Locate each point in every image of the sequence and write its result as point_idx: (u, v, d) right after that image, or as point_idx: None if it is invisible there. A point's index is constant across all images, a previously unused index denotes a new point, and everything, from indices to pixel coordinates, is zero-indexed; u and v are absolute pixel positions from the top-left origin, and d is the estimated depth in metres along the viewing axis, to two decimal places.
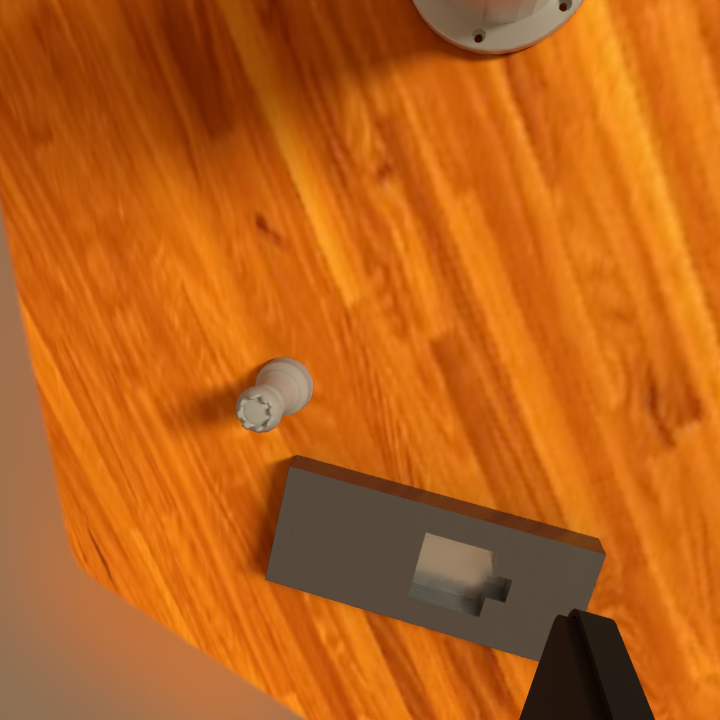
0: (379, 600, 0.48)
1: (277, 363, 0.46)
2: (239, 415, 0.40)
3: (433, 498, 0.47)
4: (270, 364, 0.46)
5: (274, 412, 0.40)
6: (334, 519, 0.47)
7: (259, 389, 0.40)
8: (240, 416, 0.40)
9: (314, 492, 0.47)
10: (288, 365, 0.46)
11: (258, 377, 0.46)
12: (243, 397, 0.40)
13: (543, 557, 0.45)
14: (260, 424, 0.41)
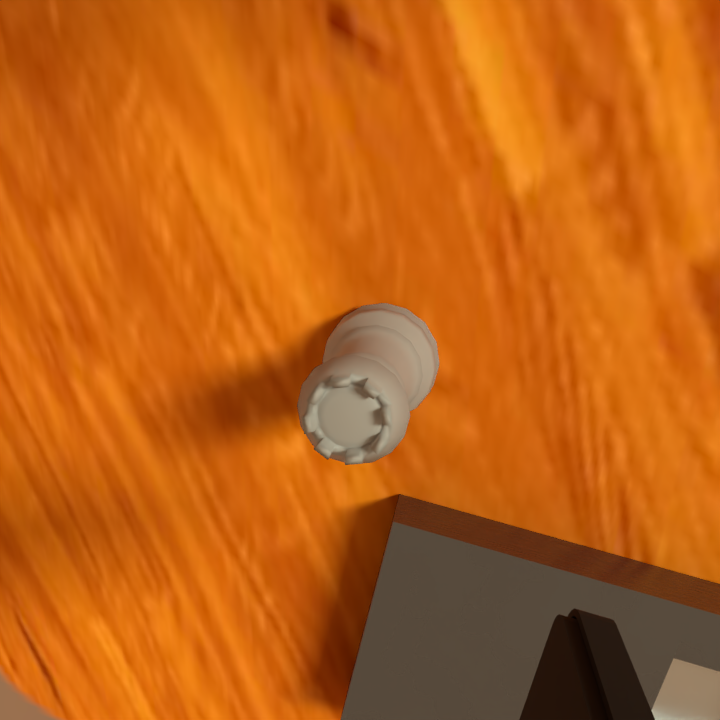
0: None
1: (372, 313, 0.22)
2: (310, 425, 0.17)
3: (680, 585, 0.23)
4: (357, 315, 0.22)
5: (393, 418, 0.17)
6: (482, 626, 0.24)
7: (357, 363, 0.17)
8: (312, 427, 0.17)
9: (443, 572, 0.23)
10: (395, 317, 0.22)
11: (332, 342, 0.23)
12: (318, 382, 0.17)
13: None
14: (358, 446, 0.17)
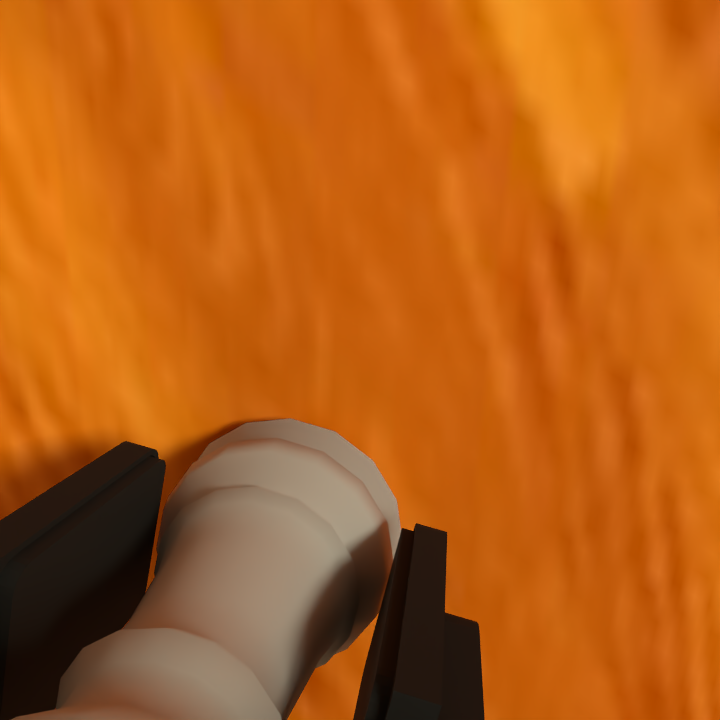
0: None
1: (253, 452, 0.10)
2: None
3: None
4: (222, 455, 0.10)
5: None
6: None
7: None
8: None
9: None
10: (302, 462, 0.10)
11: (170, 511, 0.11)
12: None
13: None
14: None
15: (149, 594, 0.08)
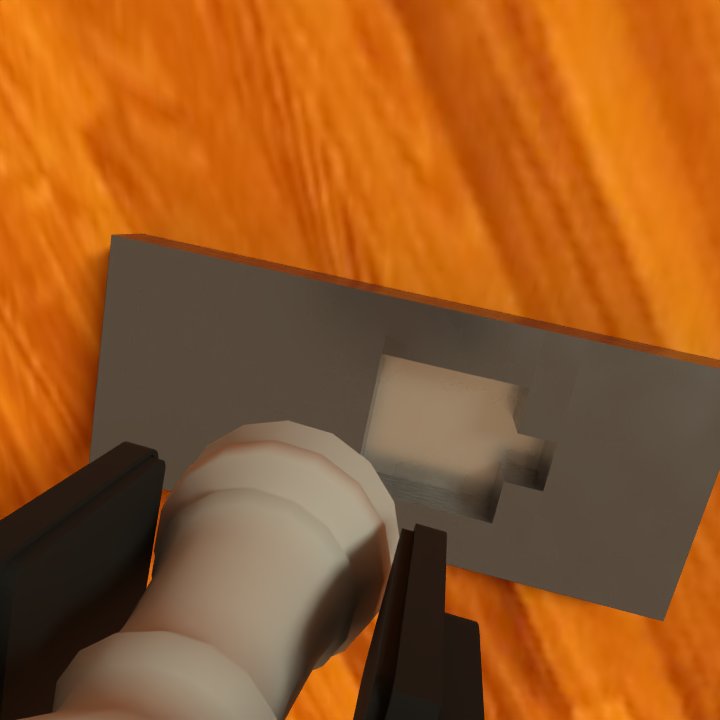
0: None
1: (250, 454, 0.10)
2: None
3: (396, 292, 0.24)
4: (220, 457, 0.10)
5: None
6: (205, 340, 0.24)
7: None
8: None
9: (163, 285, 0.24)
10: (299, 465, 0.10)
11: (168, 513, 0.11)
12: None
13: (620, 390, 0.22)
14: None
15: (146, 597, 0.08)
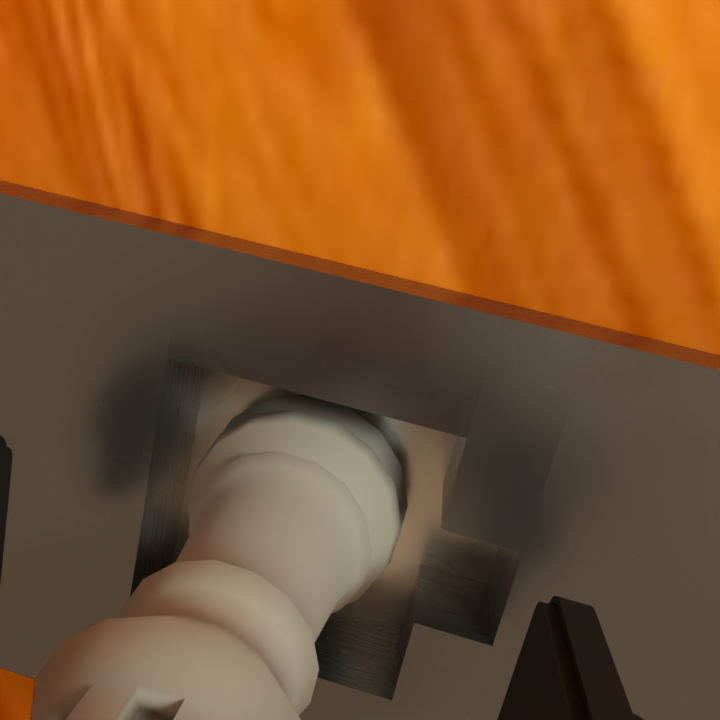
0: (31, 631, 0.13)
1: (274, 422, 0.12)
2: None
3: (214, 237, 0.12)
4: (247, 426, 0.12)
5: None
6: None
7: (161, 645, 0.06)
8: None
9: None
10: (319, 431, 0.11)
11: (201, 476, 0.12)
12: (56, 699, 0.06)
13: (658, 450, 0.10)
14: None
15: (192, 540, 0.09)
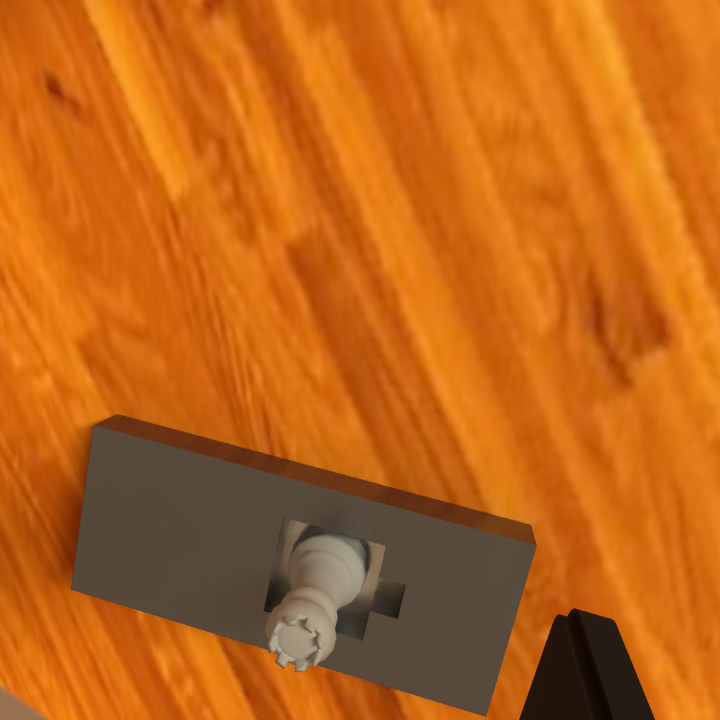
0: (225, 617, 0.34)
1: (320, 538, 0.33)
2: (272, 647, 0.27)
3: (297, 469, 0.33)
4: (310, 539, 0.33)
5: (324, 643, 0.27)
6: (158, 501, 0.33)
7: (302, 605, 0.27)
8: (274, 648, 0.27)
9: (129, 461, 0.33)
10: (335, 541, 0.32)
11: (293, 557, 0.33)
12: (278, 618, 0.27)
13: (447, 550, 0.31)
14: (303, 658, 0.27)
15: (297, 581, 0.30)
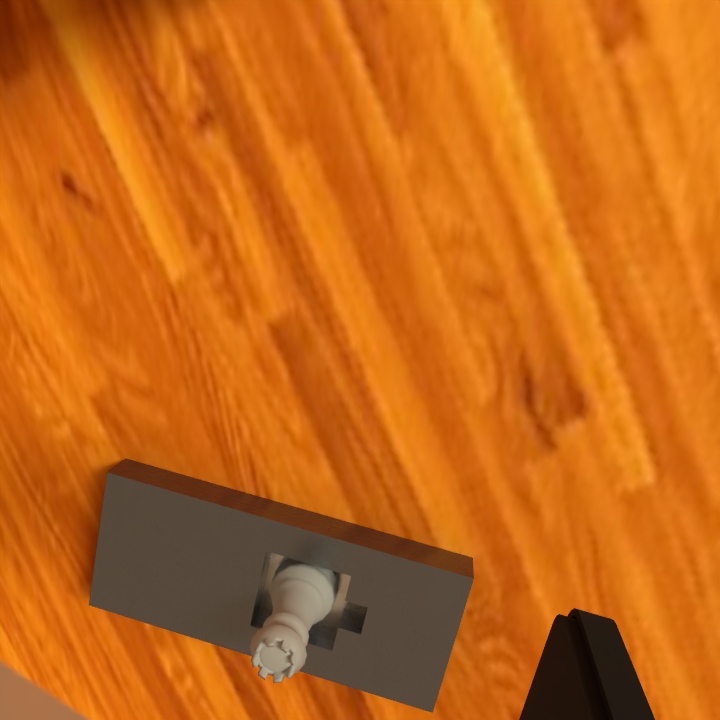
0: (218, 630, 0.41)
1: (296, 567, 0.39)
2: (255, 663, 0.34)
3: (278, 510, 0.40)
4: (288, 568, 0.39)
5: (296, 660, 0.33)
6: (162, 535, 0.40)
7: (279, 630, 0.34)
8: (256, 664, 0.34)
9: (137, 502, 0.39)
10: (309, 570, 0.39)
11: (274, 583, 0.39)
12: (259, 640, 0.34)
13: (401, 580, 0.38)
14: (280, 671, 0.34)
15: (277, 605, 0.37)
